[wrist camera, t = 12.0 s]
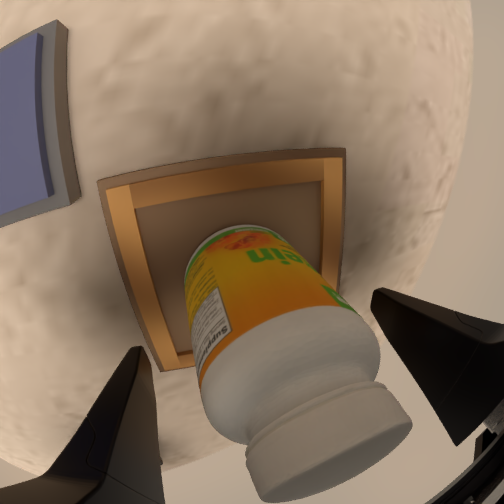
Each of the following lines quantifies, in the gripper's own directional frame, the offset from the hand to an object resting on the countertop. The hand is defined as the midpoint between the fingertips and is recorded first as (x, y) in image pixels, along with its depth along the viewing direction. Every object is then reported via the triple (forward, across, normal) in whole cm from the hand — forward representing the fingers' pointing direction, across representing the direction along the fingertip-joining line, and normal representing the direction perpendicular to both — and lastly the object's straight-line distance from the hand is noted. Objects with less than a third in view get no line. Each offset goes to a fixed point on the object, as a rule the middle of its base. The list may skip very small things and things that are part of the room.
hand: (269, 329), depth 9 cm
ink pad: (+4, +10, -9) cm, 15 cm away
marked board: (+4, 0, 0) cm, 4 cm away
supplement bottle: (+4, 0, 0) cm, 4 cm away
